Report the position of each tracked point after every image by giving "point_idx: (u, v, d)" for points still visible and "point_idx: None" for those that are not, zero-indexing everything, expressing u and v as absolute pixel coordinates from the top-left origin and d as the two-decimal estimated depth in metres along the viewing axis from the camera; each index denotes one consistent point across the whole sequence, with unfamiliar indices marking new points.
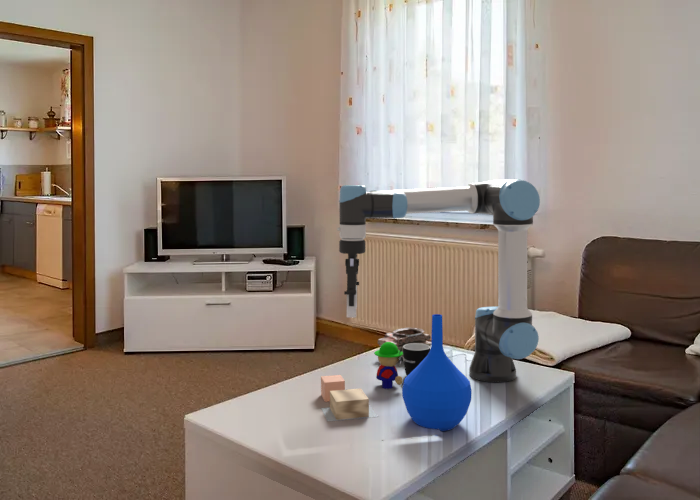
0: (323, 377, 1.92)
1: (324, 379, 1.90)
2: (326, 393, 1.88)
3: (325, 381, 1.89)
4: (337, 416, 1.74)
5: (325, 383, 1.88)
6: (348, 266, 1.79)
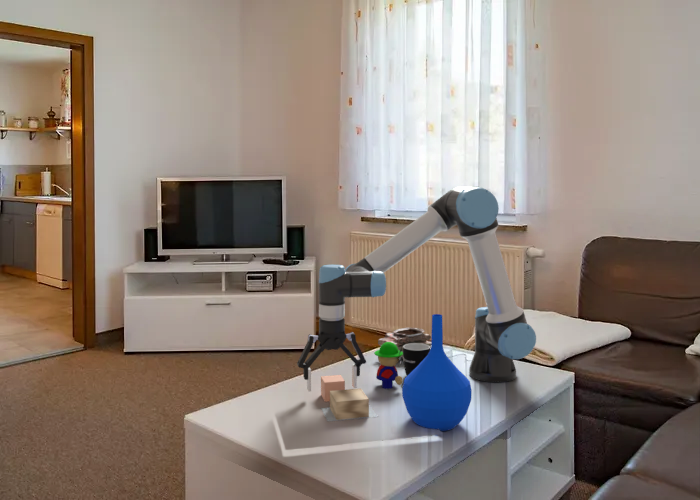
0: (323, 377, 1.92)
1: (324, 379, 1.90)
2: (326, 393, 1.88)
3: (325, 381, 1.89)
4: (337, 416, 1.74)
5: (325, 383, 1.88)
6: None
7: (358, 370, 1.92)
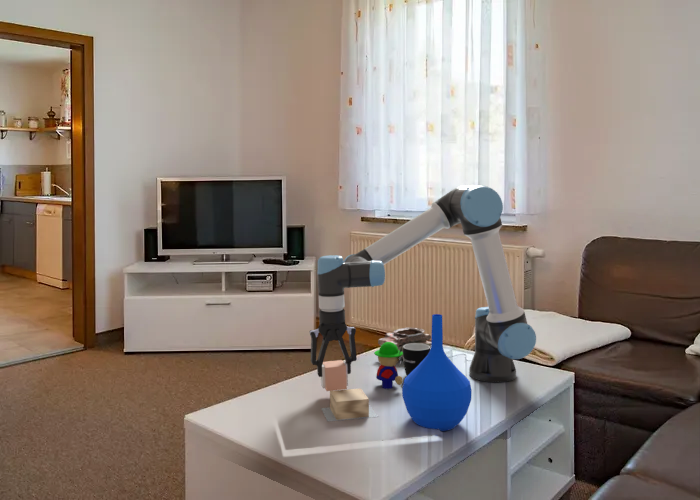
0: (324, 363, 1.92)
1: (325, 364, 1.90)
2: (327, 378, 1.88)
3: (326, 366, 1.88)
4: (337, 416, 1.74)
5: (326, 368, 1.87)
6: (311, 337, 1.89)
7: (349, 368, 1.91)
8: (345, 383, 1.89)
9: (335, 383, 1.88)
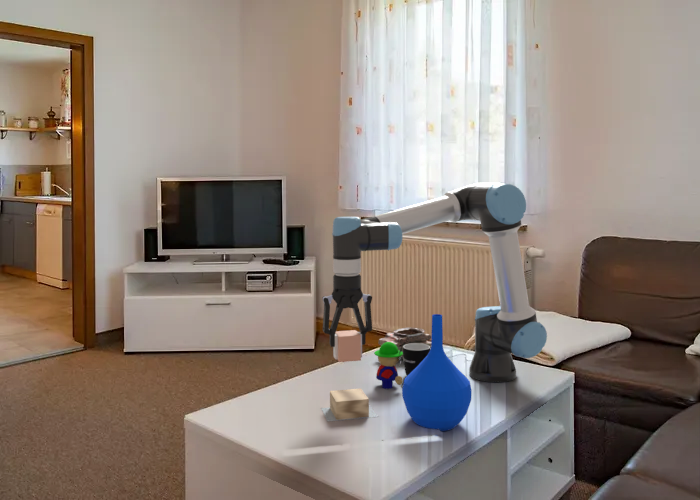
0: (337, 332, 1.78)
1: (338, 334, 1.77)
2: (340, 348, 1.74)
3: (339, 335, 1.75)
4: (337, 416, 1.74)
5: (339, 337, 1.74)
6: (324, 304, 1.76)
7: (363, 338, 1.78)
8: (359, 354, 1.76)
9: (349, 354, 1.75)
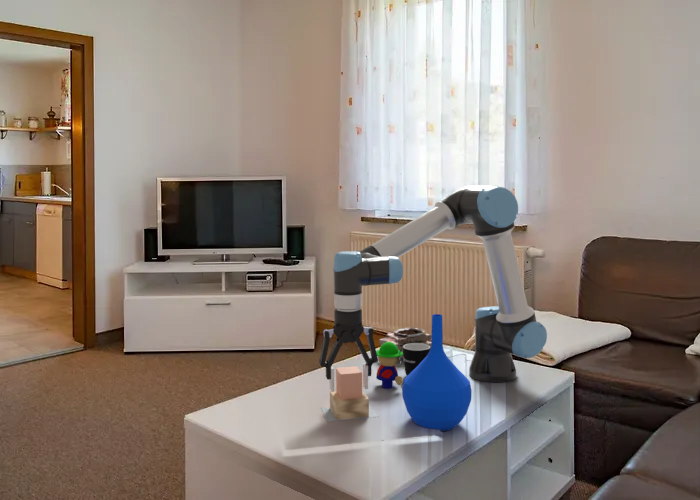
0: (338, 369, 1.79)
1: (340, 371, 1.78)
2: (342, 386, 1.75)
3: (341, 373, 1.76)
4: (337, 416, 1.74)
5: (341, 375, 1.75)
6: None
7: (369, 369, 1.79)
8: (361, 391, 1.76)
9: (350, 391, 1.76)
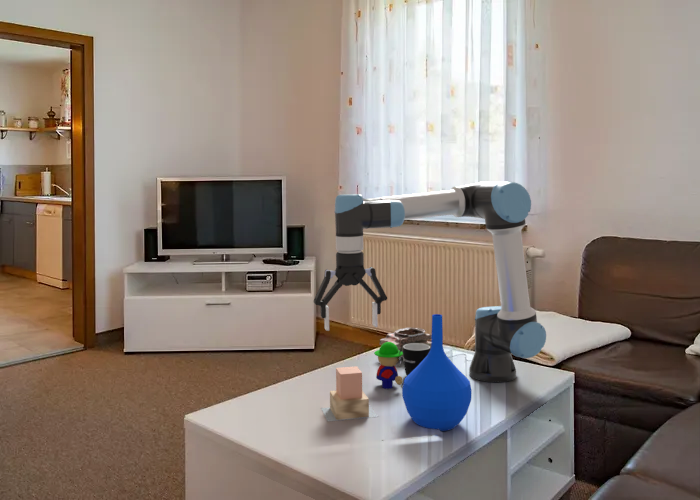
0: (338, 369, 1.79)
1: (340, 371, 1.78)
2: (342, 386, 1.75)
3: (341, 373, 1.76)
4: (337, 416, 1.74)
5: (341, 375, 1.75)
6: (324, 277, 1.76)
7: (379, 308, 1.79)
8: (361, 391, 1.76)
9: (350, 391, 1.76)
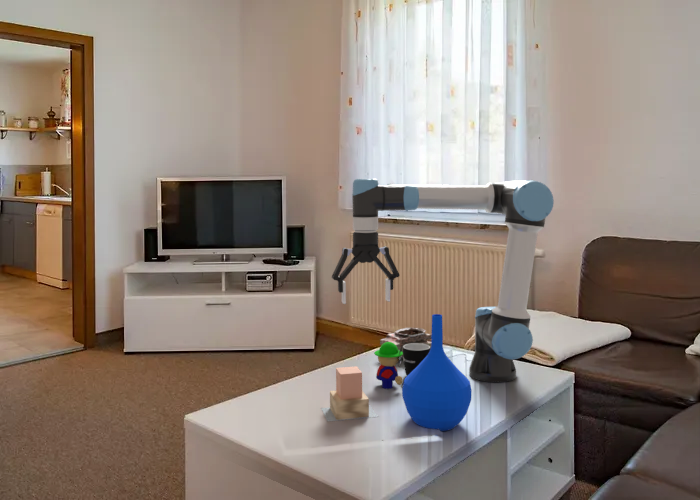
0: (338, 369, 1.79)
1: (340, 371, 1.78)
2: (342, 386, 1.75)
3: (341, 373, 1.76)
4: (337, 416, 1.74)
5: (341, 375, 1.75)
6: None
7: (391, 284, 1.94)
8: (361, 391, 1.76)
9: (350, 391, 1.76)
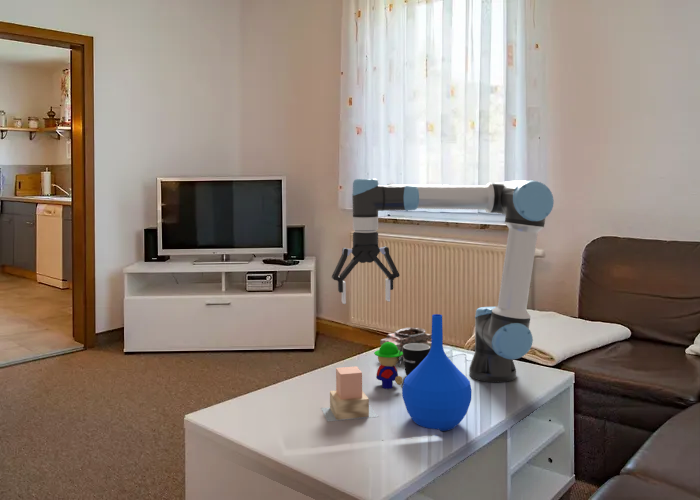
0: (338, 369, 1.79)
1: (340, 371, 1.78)
2: (342, 386, 1.75)
3: (341, 373, 1.76)
4: (337, 416, 1.74)
5: (341, 375, 1.75)
6: None
7: (391, 284, 1.94)
8: (361, 391, 1.76)
9: (350, 391, 1.76)
